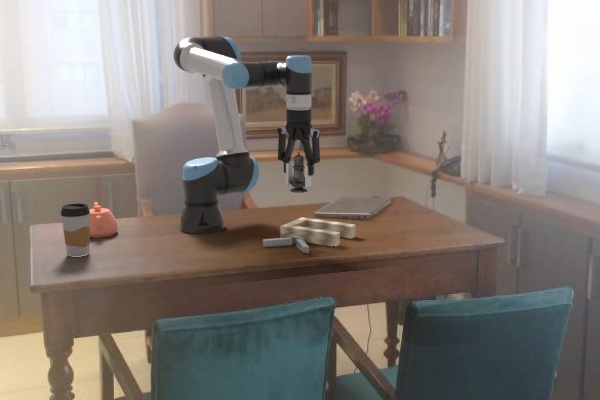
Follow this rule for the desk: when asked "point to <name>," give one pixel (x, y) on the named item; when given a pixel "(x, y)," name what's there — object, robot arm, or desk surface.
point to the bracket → (318, 231)
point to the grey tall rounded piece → (298, 175)
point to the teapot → (101, 222)
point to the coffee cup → (76, 228)
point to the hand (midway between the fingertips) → (298, 184)
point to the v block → (288, 242)
